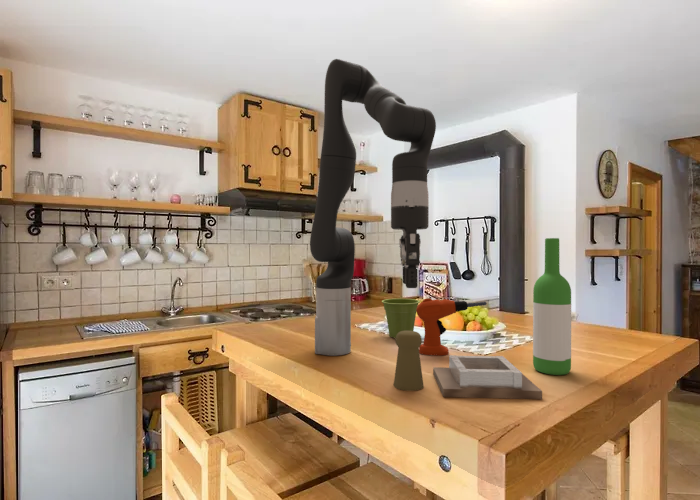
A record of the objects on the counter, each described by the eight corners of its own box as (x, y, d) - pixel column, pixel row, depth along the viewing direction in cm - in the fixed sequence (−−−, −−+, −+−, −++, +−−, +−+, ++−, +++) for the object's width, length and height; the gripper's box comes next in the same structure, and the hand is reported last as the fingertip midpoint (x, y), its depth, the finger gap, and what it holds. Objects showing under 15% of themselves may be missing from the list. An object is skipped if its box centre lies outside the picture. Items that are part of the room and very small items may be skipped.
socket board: (443, 396, 78) (443, 388, 78) (433, 374, 92) (433, 367, 92) (542, 399, 77) (542, 391, 77) (516, 375, 91) (516, 368, 91)
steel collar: (460, 387, 79) (460, 371, 79) (449, 368, 90) (449, 355, 90) (521, 388, 78) (521, 372, 78) (502, 370, 90) (502, 356, 90)
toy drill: (494, 351, 105) (486, 293, 106) (419, 358, 108) (412, 301, 108) (490, 347, 110) (483, 291, 110) (419, 353, 113) (412, 298, 113)
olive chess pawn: (416, 392, 80) (416, 335, 80) (388, 387, 83) (388, 332, 83) (428, 384, 85) (428, 330, 85) (401, 379, 88) (401, 327, 88)
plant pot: (378, 333, 135) (378, 298, 135) (414, 332, 136) (414, 298, 136) (385, 341, 123) (385, 303, 123) (424, 340, 125) (424, 303, 125)
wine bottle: (578, 372, 93) (578, 238, 92) (558, 378, 89) (558, 237, 88) (545, 364, 99) (546, 238, 99) (525, 369, 95) (526, 238, 95)
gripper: (389, 209, 91) (389, 282, 91) (392, 202, 77) (392, 289, 77) (424, 208, 91) (424, 283, 91) (433, 201, 77) (433, 289, 77)
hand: (409, 285), depth 84 cm, fingers open, 8 cm apart
